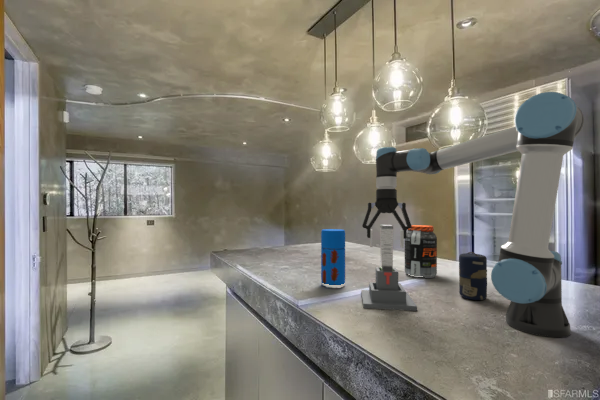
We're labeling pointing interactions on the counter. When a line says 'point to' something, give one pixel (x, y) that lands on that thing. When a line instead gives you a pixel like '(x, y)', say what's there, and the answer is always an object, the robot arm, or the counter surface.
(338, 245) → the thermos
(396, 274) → the base
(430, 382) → the counter surface
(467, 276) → the canister
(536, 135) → the robot arm
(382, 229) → the column
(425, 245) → the supplement tub
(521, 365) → the counter surface
